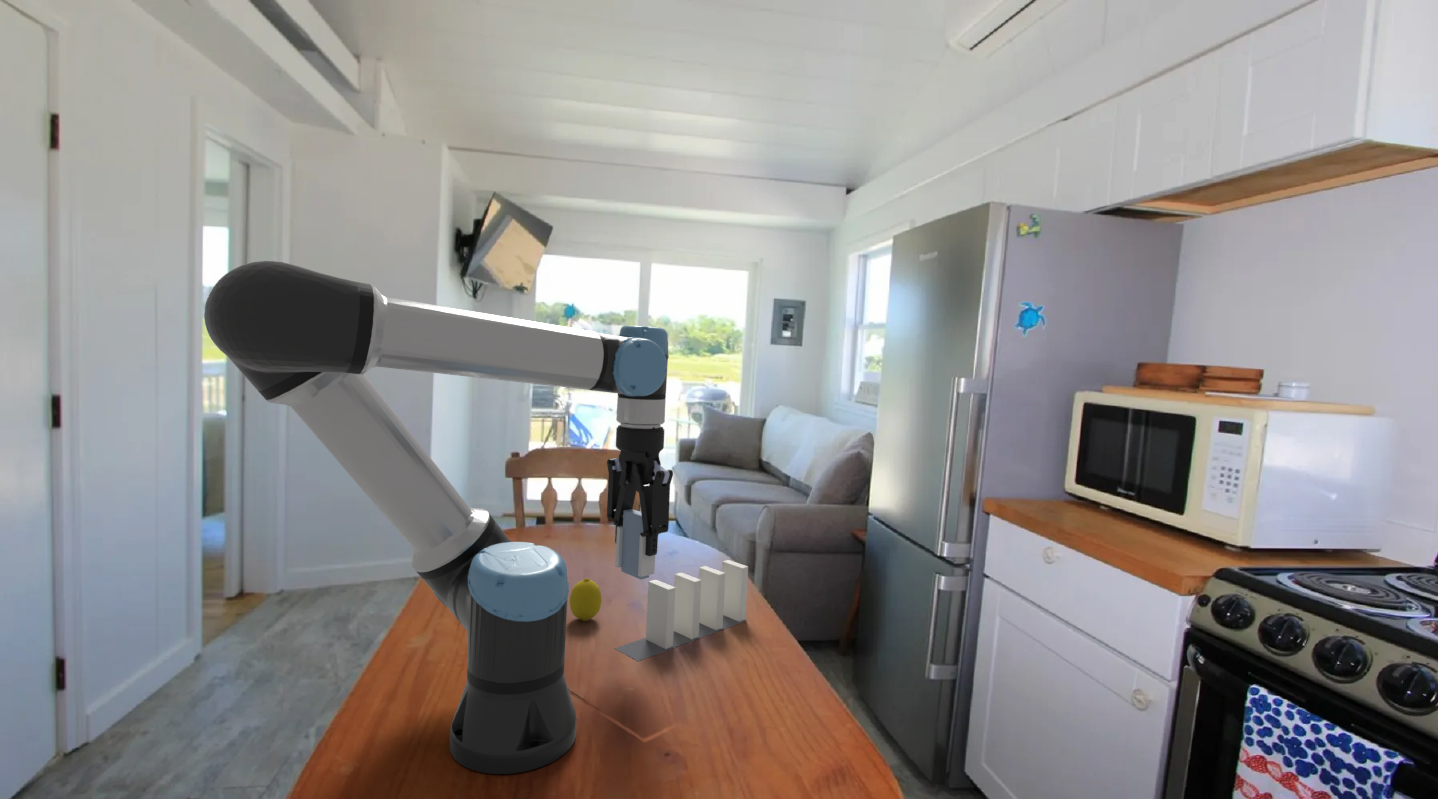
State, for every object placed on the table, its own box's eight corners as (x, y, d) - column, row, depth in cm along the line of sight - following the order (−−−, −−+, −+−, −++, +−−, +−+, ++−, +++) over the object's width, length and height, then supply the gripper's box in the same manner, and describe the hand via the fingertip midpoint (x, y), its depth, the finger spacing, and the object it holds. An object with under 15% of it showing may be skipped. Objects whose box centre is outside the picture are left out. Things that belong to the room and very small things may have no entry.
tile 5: (739, 621, 127) (742, 568, 126) (719, 613, 130) (722, 561, 129) (745, 619, 128) (748, 566, 127) (725, 611, 131) (728, 559, 131)
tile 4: (716, 630, 122) (719, 574, 122) (696, 621, 126) (699, 567, 125) (722, 627, 123) (725, 573, 123) (702, 619, 127) (705, 565, 126)
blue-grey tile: (641, 579, 108) (643, 516, 108) (621, 571, 112) (623, 510, 111) (648, 577, 110) (651, 515, 109) (628, 569, 113) (631, 508, 112)
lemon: (606, 622, 124) (608, 579, 124) (581, 630, 120) (582, 585, 120) (588, 613, 128) (589, 571, 127) (562, 621, 124) (564, 577, 123)
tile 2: (665, 649, 114) (668, 589, 113) (645, 639, 117) (648, 581, 116) (672, 646, 115) (675, 587, 114) (653, 636, 118) (655, 579, 118)
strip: (637, 663, 109) (638, 661, 109) (614, 650, 113) (614, 648, 113) (747, 622, 128) (747, 620, 128) (724, 612, 132) (724, 610, 132)
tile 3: (691, 639, 118) (694, 581, 117) (672, 630, 121) (674, 574, 121) (698, 636, 119) (701, 580, 118) (678, 627, 123) (681, 572, 122)
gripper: (697, 430, 105) (690, 580, 107) (623, 417, 118) (618, 552, 120) (660, 433, 100) (653, 590, 102) (587, 419, 112) (582, 560, 114)
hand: (634, 569), depth 111 cm, fingers closed on blue-grey tile, 5 cm apart
